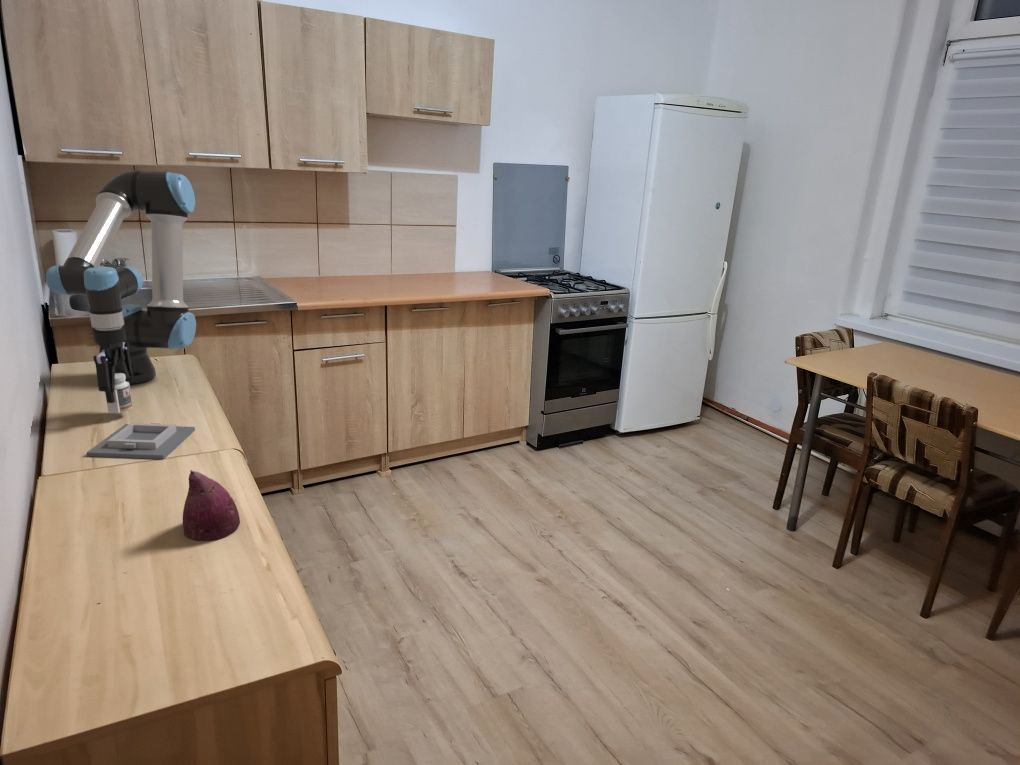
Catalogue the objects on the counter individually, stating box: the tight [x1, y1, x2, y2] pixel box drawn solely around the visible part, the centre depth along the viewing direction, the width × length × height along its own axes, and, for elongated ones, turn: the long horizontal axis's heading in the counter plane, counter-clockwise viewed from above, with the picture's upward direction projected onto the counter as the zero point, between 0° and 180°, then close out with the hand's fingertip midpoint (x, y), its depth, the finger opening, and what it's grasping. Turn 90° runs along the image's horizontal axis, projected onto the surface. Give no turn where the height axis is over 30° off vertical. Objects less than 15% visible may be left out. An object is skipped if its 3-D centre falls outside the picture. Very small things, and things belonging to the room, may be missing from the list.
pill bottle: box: [115, 373, 133, 413], centre depth 181 cm, size 6×6×10 cm
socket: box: [86, 422, 196, 460], centre depth 167 cm, size 18×18×3 cm
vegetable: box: [182, 469, 241, 542], centre depth 129 cm, size 10×10×15 cm
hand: (120, 408), depth 182 cm, fingers closed on pill bottle, 6 cm apart
